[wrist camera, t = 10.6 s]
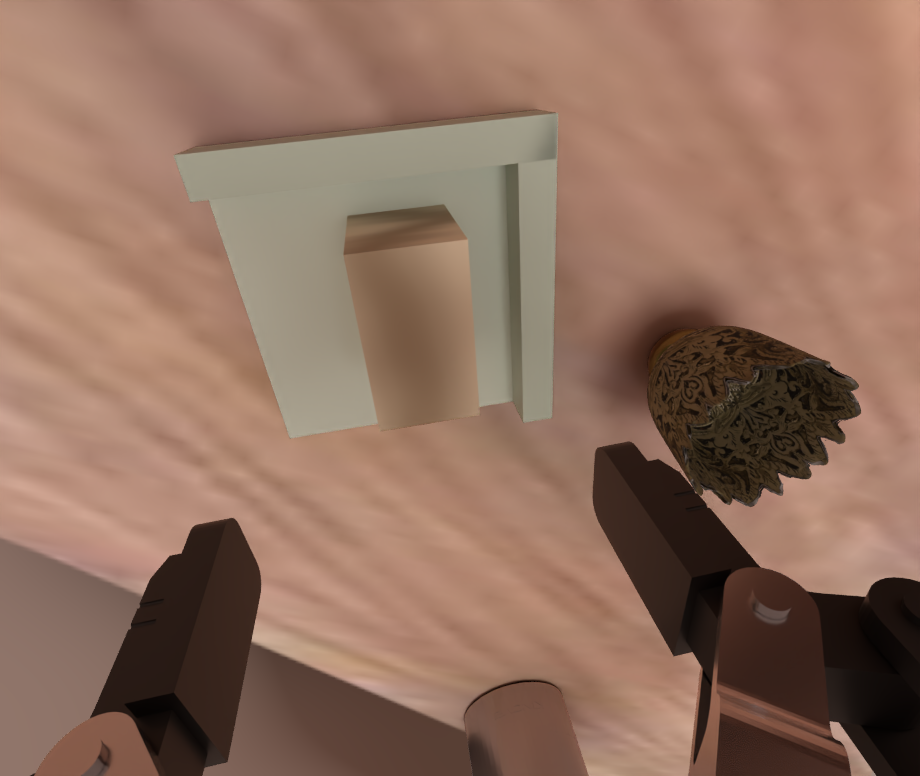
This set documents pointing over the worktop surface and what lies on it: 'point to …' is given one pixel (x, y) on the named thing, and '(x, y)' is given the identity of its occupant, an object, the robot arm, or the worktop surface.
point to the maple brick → (414, 314)
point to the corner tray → (376, 190)
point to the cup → (744, 409)
